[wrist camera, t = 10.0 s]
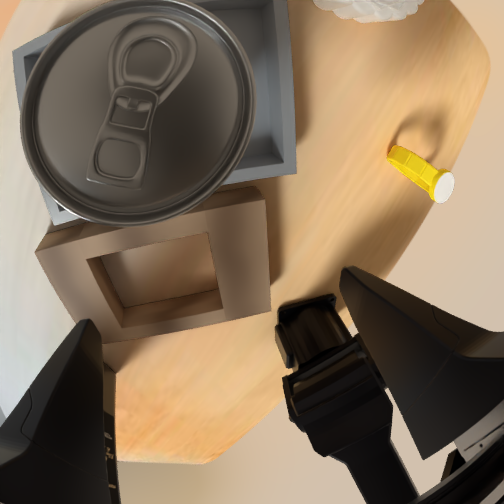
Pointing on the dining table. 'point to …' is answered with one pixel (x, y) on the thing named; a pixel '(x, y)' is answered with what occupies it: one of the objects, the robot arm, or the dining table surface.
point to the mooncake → (370, 9)
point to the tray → (266, 80)
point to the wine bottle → (110, 433)
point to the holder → (190, 223)
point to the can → (138, 111)
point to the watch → (423, 173)
